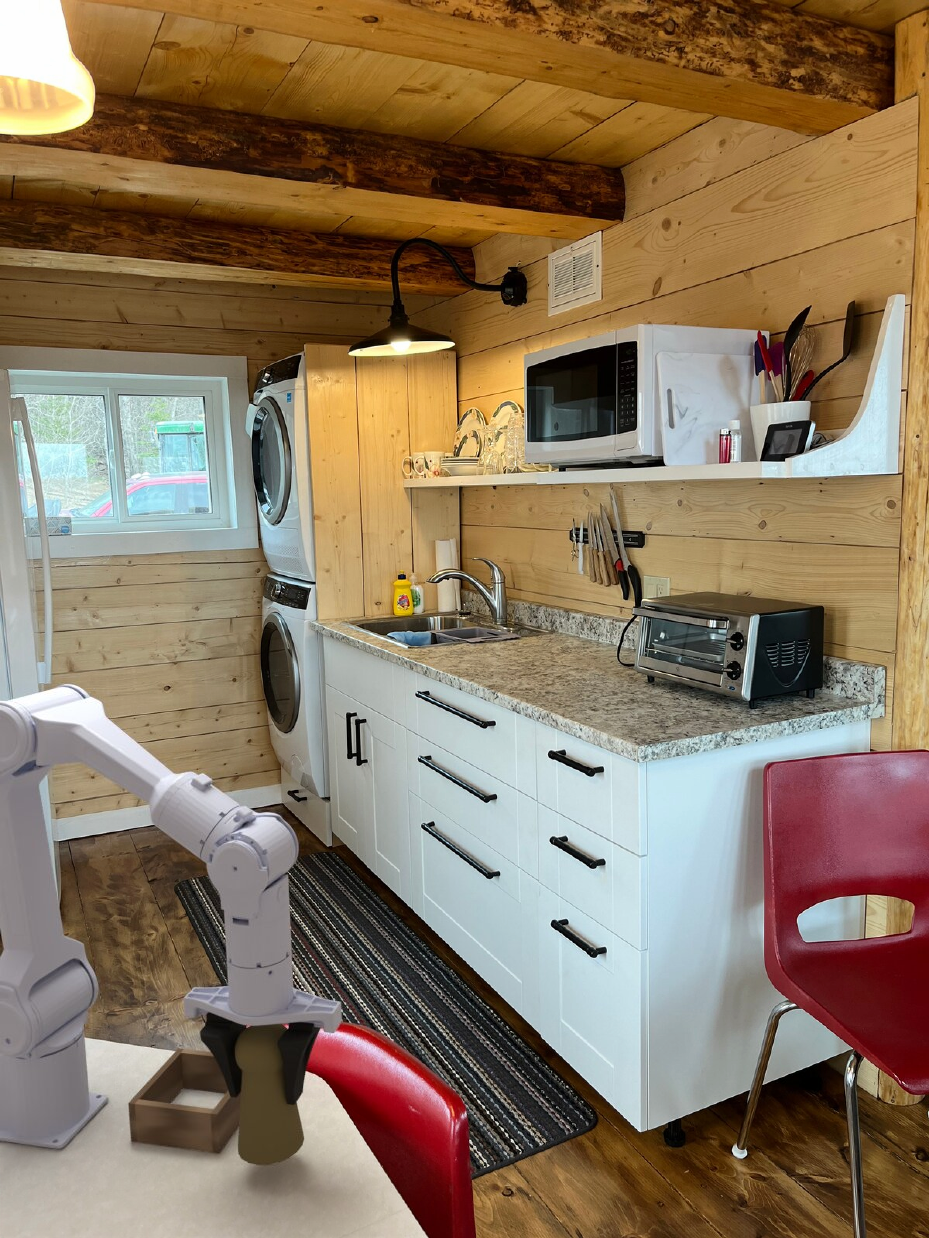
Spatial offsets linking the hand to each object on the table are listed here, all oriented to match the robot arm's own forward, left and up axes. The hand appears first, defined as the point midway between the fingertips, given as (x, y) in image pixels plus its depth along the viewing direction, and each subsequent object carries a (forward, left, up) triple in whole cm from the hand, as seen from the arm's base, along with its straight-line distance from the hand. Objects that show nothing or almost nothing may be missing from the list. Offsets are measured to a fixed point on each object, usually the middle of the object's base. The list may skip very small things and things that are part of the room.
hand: (266, 1094), depth 86 cm
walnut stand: (-10, +6, -8) cm, 14 cm away
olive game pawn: (0, 0, -5) cm, 5 cm away
